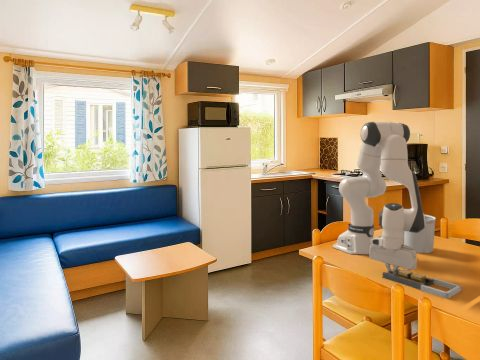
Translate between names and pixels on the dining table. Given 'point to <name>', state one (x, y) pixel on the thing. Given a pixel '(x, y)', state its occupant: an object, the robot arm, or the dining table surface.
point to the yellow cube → (419, 278)
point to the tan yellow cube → (405, 274)
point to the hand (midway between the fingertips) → (391, 274)
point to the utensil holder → (422, 237)
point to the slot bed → (407, 280)
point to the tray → (448, 294)
